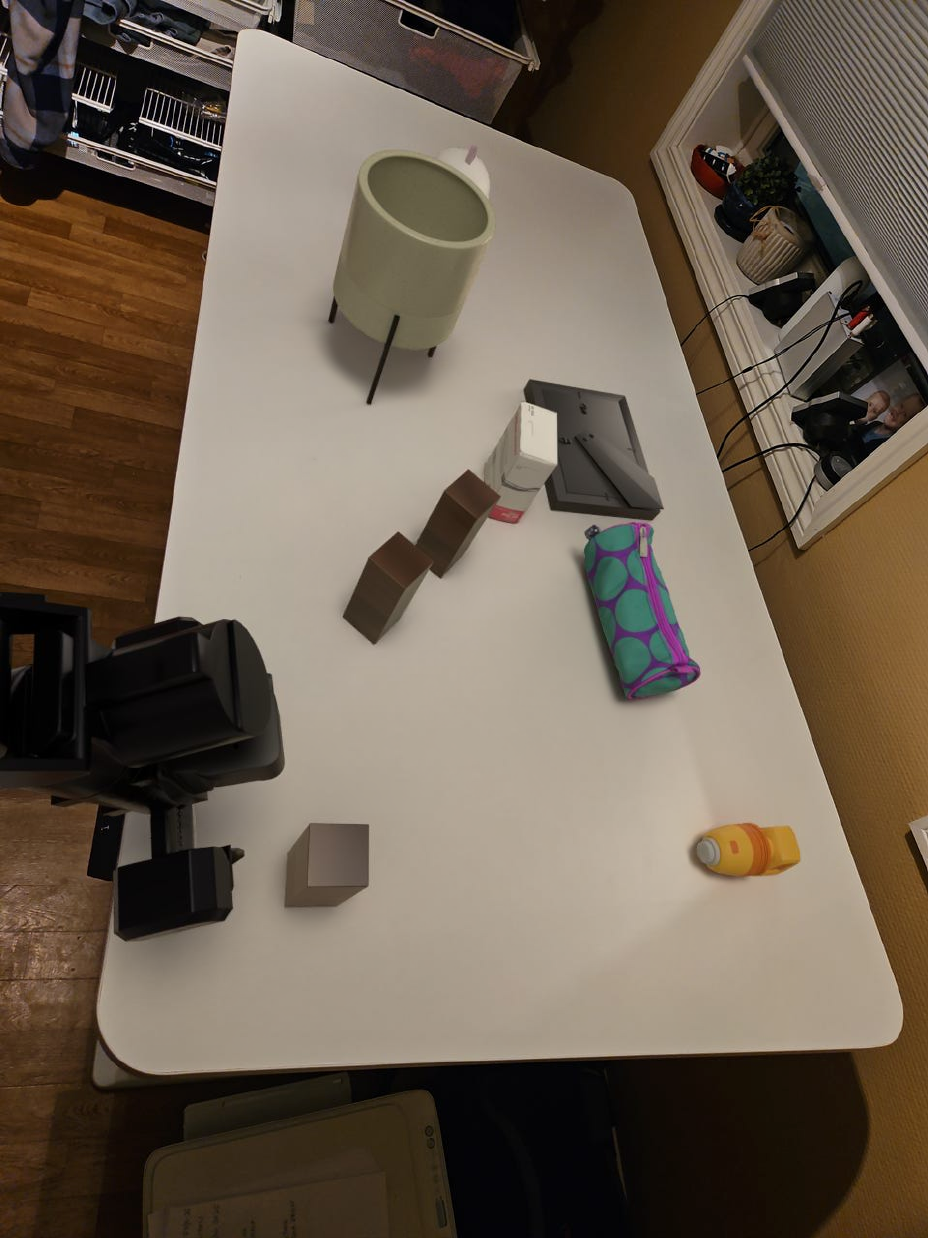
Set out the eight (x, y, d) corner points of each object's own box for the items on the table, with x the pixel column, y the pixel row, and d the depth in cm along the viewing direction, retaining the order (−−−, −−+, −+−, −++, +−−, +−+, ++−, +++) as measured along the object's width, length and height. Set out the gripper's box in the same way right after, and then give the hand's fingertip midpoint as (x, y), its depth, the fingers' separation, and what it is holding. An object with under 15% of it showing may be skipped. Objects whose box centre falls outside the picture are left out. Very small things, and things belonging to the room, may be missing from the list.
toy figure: (693, 883, 76) (783, 876, 80) (725, 875, 71) (819, 867, 75) (680, 831, 78) (768, 826, 82) (711, 820, 73) (803, 815, 77)
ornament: (475, 248, 114) (505, 175, 104) (413, 227, 111) (437, 150, 101) (475, 209, 119) (503, 136, 109) (415, 188, 115) (438, 111, 106)
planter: (308, 385, 89) (346, 214, 70) (330, 302, 97) (370, 129, 78) (425, 422, 93) (492, 270, 74) (437, 340, 101) (500, 184, 82)
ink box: (517, 525, 90) (559, 466, 80) (480, 515, 89) (519, 454, 79) (518, 473, 94) (559, 410, 84) (483, 462, 93) (521, 398, 83)
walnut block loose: (284, 907, 61) (306, 887, 51) (287, 852, 63) (309, 823, 53) (337, 906, 63) (368, 886, 53) (338, 853, 65) (369, 824, 55)
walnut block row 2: (440, 578, 82) (477, 519, 72) (410, 553, 82) (443, 490, 73) (462, 556, 85) (501, 496, 75) (433, 532, 85) (468, 468, 75)
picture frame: (652, 520, 99) (617, 405, 108) (663, 508, 96) (627, 391, 105) (550, 510, 93) (523, 389, 102) (560, 497, 91) (531, 374, 100)
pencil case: (565, 552, 91) (603, 508, 83) (624, 553, 94) (666, 511, 86) (610, 707, 82) (657, 675, 74) (673, 703, 86) (724, 671, 78)
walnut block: (374, 644, 75) (405, 589, 66) (342, 616, 76) (368, 557, 66) (400, 618, 78) (434, 561, 68) (369, 591, 78) (398, 530, 68)
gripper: (248, 896, 33) (358, 900, 47) (220, 547, 40) (322, 641, 54) (27, 950, 34) (200, 938, 48) (39, 600, 41) (186, 679, 56)
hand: (233, 789), depth 51 cm, fingers open, 9 cm apart
